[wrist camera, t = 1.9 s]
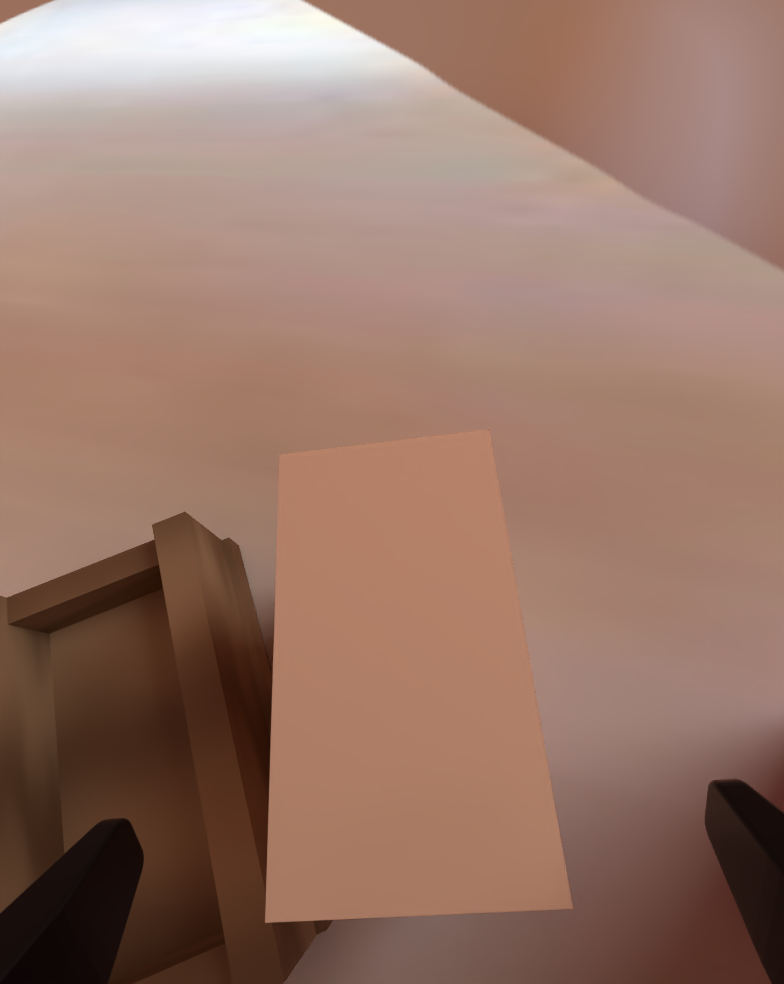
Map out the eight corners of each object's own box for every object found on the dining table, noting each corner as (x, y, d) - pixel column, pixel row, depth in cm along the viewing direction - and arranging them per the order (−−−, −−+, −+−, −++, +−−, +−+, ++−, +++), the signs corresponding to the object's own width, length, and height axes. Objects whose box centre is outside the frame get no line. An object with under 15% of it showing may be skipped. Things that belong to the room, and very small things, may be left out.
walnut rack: (334, 918, 15) (296, 976, 12) (51, 1042, 15) (-77, 1142, 11) (238, 545, 21) (193, 508, 17) (30, 628, 21) (-61, 608, 17)
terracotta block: (509, 806, 16) (573, 908, 7) (370, 815, 17) (265, 922, 8) (475, 565, 20) (489, 429, 11) (360, 577, 20) (279, 454, 11)
